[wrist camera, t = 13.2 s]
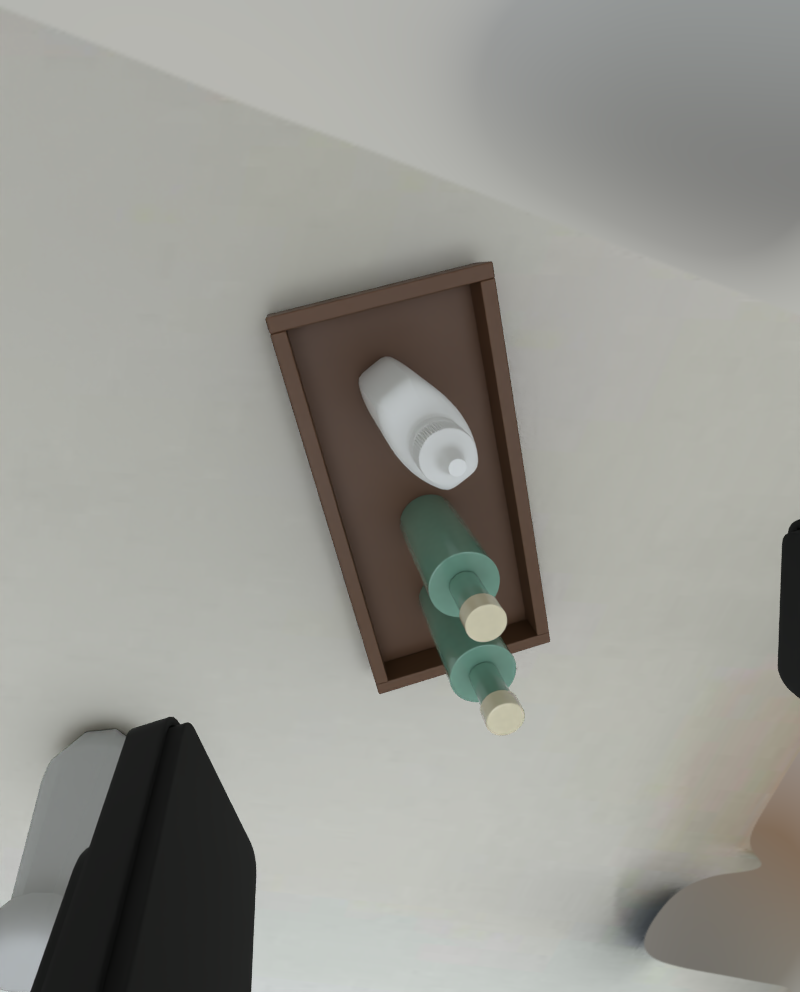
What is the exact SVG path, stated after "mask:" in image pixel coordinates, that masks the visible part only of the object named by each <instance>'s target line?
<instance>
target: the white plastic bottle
mask: <svg viewBox="0 0 800 992" xmlns="http://www.w3.org/2000/svg"><path fill="white" fill-rule="evenodd" d="M359 388H360V392H361V395H362V398H363V400H364V403H365V405H366V407H367V409H368V411H369V413H370V414H371V416H372V418H373V419H374V421H375V423H376V424H377V426H378V428H379V429H380V431H381V433H382V434H383V436H384V438H385V439H386V441H387V443H388V444H389V446H390V447H391V449H392V450H393V452H394V453H395V455H396V456H397V457H398V458H399V460H400V461H401V462H402V463H403V464H404V465H405V466H406V467H407V468H408V469H409V470H410V471H411V472H412V473H413V474H415V475H416V476H417V477H419V478H420V479H422V480H423V481H425V482H427V483H429V484H430V485H432V486H435V487H437V488H440V489H445V490H449V489H452V488H454V487H456V486H457V485H459V484H460V483H461V482H463V481H464V480H465V479H466V478H468V477H469V476H470V475H471V474H472V473H473V472H474V471H475V470H476V468H477V465H478V455H477V449H476V444H475V441H474V438H473V436H472V433H471V431H470V429H469V427H468V425H467V423H466V421H465V420H464V418H463V416H462V415H461V414H460V412H459V411H458V410H457V408H456V407H455V406H454V405H453V404H452V403H451V402H450V401H449V400H448V399H447V398H446V397H445V396H444V395H443V394H442V393H441V392H440V391H438V390H437V389H436V388H435V387H433V386H432V385H431V384H429V383H428V382H427V381H425V380H424V379H423V378H421V377H420V376H419V375H418V374H416V373H415V372H414V371H412V370H411V369H410V368H408V367H407V366H405V365H404V364H402V363H401V362H399V361H397V360H396V359H394V358H391V357H386V356H385V357H383V358H380V359H379V360H378V361H376V362H375V363H374V364H373V365H372V366H370V367H369V368H368V369H367V370H366V371H364V372H363V373H362V374H361V376H360V377H359Z"/></svg>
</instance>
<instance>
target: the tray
mask: <svg viewBox="0 0 800 992" xmlns="http://www.w3.org/2000/svg"><path fill="white" fill-rule="evenodd" d="M266 323H267V326H268V329H269V333H270V334H271V339H272V343H273V346H274V349H275V352H276V356H277V359H278V362H279V366H280V369H281V372H282V376H283V379H284V382H285V385H286V389H287V392H288V395H289V399H290V402H291V405H292V409H293V412H294V415H295V418H296V422H297V425H298V428H299V432H300V435H301V438H302V442H303V445H304V448H305V451H306V455H307V458H308V461H309V465H310V468H311V471H312V475H313V478H314V481H315V484H316V488H317V491H318V494H319V498H320V501H321V504H322V507H323V511H324V514H325V517H326V521H327V524H328V527H329V531H330V534H331V537H332V540H333V544H334V547H335V550H336V554H337V557H338V560H339V564H340V567H341V570H342V573H343V577H344V580H345V583H346V587H347V590H348V593H349V597H350V600H351V603H352V606H353V610H354V613H355V616H356V620H357V623H358V626H359V630H360V633H361V636H362V639H363V643H364V646H365V649H366V653H367V656H368V659H369V663H370V666H371V669H372V672H373V676H374V679H375V682H376V686H377V689H378V692H379V694H382V693H385V692H388V691H392V690H395V689H398V688H401V687H405V686H408V685H411V684H414V683H418V682H421V681H424V680H427V679H431V678H434V677H437V676H440V675H444V674H446V672H445V670H444V667H443V665H442V662H441V660H440V657H439V654H438V652H437V649H436V647H435V644H434V642H433V639H432V637H431V634H430V632H429V629H428V627H427V624H426V622H425V619H424V616H423V614H422V611H421V609H420V606H419V594H420V591H421V589H422V587H423V585H424V584H423V582H422V579H421V577H420V575H419V572H418V570H417V568H416V566H415V563H414V561H413V559H412V556H411V554H410V552H409V549H408V547H407V545H406V543H405V540H404V538H403V536H402V533H401V530H400V518H401V515H402V512H403V510H404V509H405V507H406V506H407V505H408V504H409V503H410V502H411V501H413V500H414V499H416V498H418V497H420V496H423V495H430V494H432V495H439V496H442V497H444V498H446V499H447V500H449V501H450V502H451V503H452V505H453V506H454V507H455V509H456V510H457V512H458V513H459V514H460V516H461V517H462V519H463V520H464V521H465V523H466V524H467V525H468V527H469V528H470V530H471V531H472V532H473V534H474V535H475V537H476V538H477V539H478V541H479V542H480V544H481V545H482V546H483V548H484V549H485V551H486V552H487V553H488V555H489V556H490V558H491V559H492V560H493V562H494V563H495V565H496V566H497V568H498V571H499V575H500V584H499V589H498V592H497V594H496V596H495V598H496V599H497V600H498V602H499V603H500V605H501V606H502V608H503V610H504V611H505V613H506V615H507V625H506V628H505V630H504V631H503V633H502V634H501V637H502V638H503V640H504V642H505V643H506V645H507V647H508V649H509V650H510V652H511V654H512V653H515V652H518V651H522V650H525V649H528V648H531V647H535V646H538V645H541V644H544V643H548V642H550V637H549V630H548V623H547V617H546V610H545V604H544V597H543V590H542V584H541V577H540V571H539V564H538V558H537V551H536V545H535V538H534V531H533V525H532V518H531V512H530V505H529V499H528V492H527V486H526V479H525V472H524V466H523V459H522V453H521V446H520V440H519V433H518V426H517V420H516V413H515V407H514V400H513V394H512V387H511V381H510V374H509V367H508V361H507V354H506V348H505V341H504V335H503V328H502V322H501V315H500V308H499V302H498V295H497V289H496V282H495V278H494V270H493V263H492V262H478V263H473V264H469V265H465V266H461V267H457V268H453V269H449V270H445V271H441V272H437V273H433V274H429V275H425V276H421V277H417V278H413V279H409V280H405V281H401V282H397V283H393V284H389V285H385V286H381V287H377V288H373V289H369V290H365V291H361V292H357V293H353V294H349V295H345V296H341V297H337V298H333V299H329V300H325V301H321V302H317V303H313V304H309V305H305V306H301V307H297V308H293V309H289V310H285V311H281V312H277V313H272V314H268V315H267V317H266ZM385 356H386V357H391V358H394V359H396V360H397V361H399V362H401V363H402V364H404V365H405V366H407V367H408V368H410V369H411V370H412V371H414V372H415V373H416V374H418V375H419V376H420V377H421V378H423V379H424V380H425V381H427V382H428V383H429V384H431V385H432V386H433V387H435V388H436V389H437V390H438V391H440V392H441V393H442V394H443V395H444V396H445V397H446V398H447V399H448V400H449V401H450V402H451V403H452V404H453V405H454V406H455V407H456V408H457V410H458V411H459V412H460V414H461V415H462V416H463V418H464V420H465V421H466V423H467V425H468V427H469V429H470V431H471V433H472V436H473V438H474V441H475V444H476V449H477V455H478V465H477V468H476V470H475V471H474V472H473V473H472V474H471V475H470V476H469V477H468V478H466V479H465V480H464V481H463V482H461V483H460V484H459V485H457V486H456V487H454V488H452V489H449V490H445V489H440V488H437V487H435V486H432V485H430V484H429V483H427V482H425V481H423V480H422V479H420V478H419V477H417V476H416V475H415V474H413V473H412V472H411V471H410V470H409V469H408V468H407V467H406V466H405V465H404V464H403V463H402V462H401V461H400V460H399V458H398V457H397V456H396V455H395V453H394V452H393V450H392V449H391V447H390V446H389V444H388V443H387V441H386V439H385V438H384V436H383V434H382V433H381V431H380V429H379V428H378V426H377V424H376V423H375V421H374V419H373V418H372V416H371V414H370V413H369V411H368V409H367V407H366V405H365V403H364V400H363V398H362V395H361V392H360V388H359V377H360V376H361V374H362V373H363V372H364V371H366V370H367V369H368V368H369V367H370V366H372V365H373V364H374V363H375V362H376V361H378V360H379V359H380V358H383V357H385Z"/></svg>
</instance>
